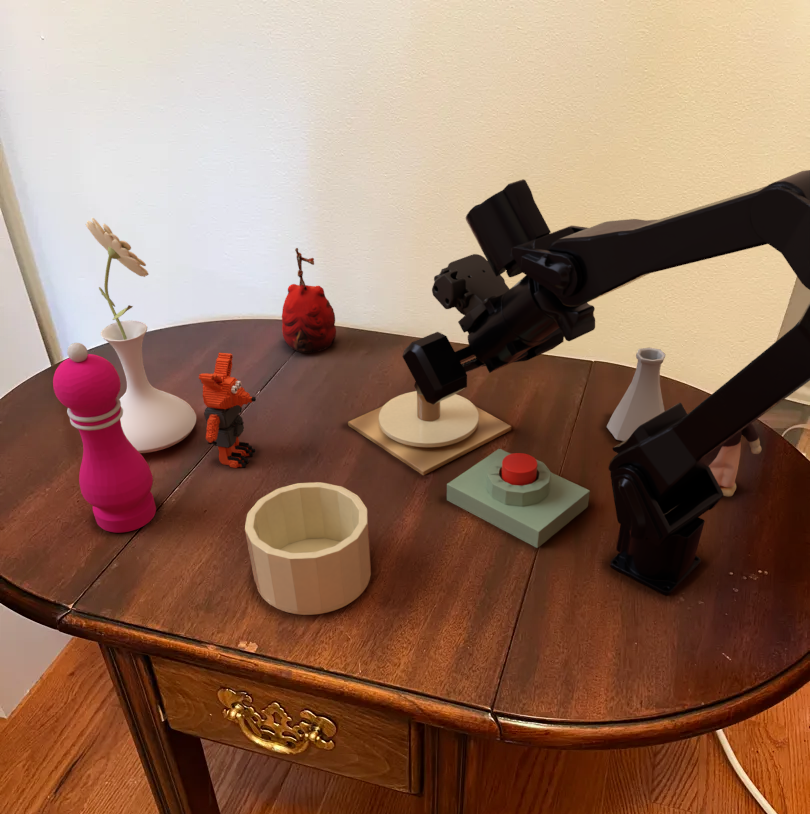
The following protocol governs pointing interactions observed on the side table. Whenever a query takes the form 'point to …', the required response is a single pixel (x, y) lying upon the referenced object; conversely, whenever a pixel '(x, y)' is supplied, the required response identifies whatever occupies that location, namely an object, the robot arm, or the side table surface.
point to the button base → (518, 499)
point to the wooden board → (429, 456)
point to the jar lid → (428, 420)
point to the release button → (519, 469)
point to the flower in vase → (140, 367)
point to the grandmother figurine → (733, 459)
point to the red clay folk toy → (307, 315)
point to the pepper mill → (104, 443)
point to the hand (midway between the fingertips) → (448, 375)
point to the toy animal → (225, 412)
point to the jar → (309, 547)
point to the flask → (639, 396)
